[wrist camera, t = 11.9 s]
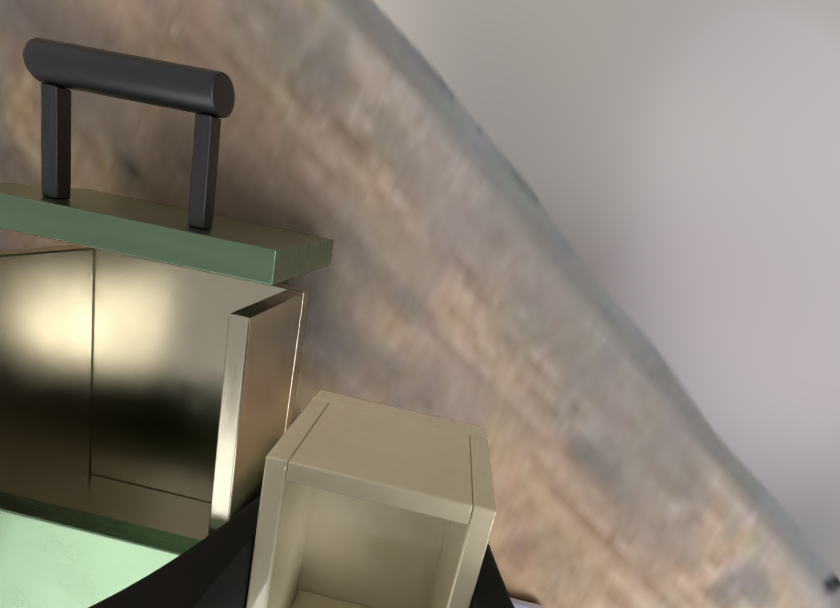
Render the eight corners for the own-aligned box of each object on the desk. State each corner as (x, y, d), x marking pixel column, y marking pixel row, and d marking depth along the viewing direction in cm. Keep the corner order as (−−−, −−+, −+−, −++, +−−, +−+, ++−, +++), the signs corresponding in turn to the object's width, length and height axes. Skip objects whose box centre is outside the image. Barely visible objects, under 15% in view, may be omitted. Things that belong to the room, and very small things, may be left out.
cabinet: (86, 394, 23) (-102, 484, 16) (319, 448, 23) (244, 570, 15) (82, 626, 27) (-72, 794, 19) (283, 678, 26) (208, 874, 19)
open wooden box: (486, 427, 12) (497, 511, 9) (436, 618, 14) (428, 753, 10) (319, 388, 12) (264, 455, 9) (288, 580, 14) (232, 700, 10)
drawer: (88, 73, 19) (-90, 3, 13) (351, 123, 18) (297, 75, 12) (81, 468, 23) (-52, 557, 17) (293, 518, 23) (231, 629, 17)
